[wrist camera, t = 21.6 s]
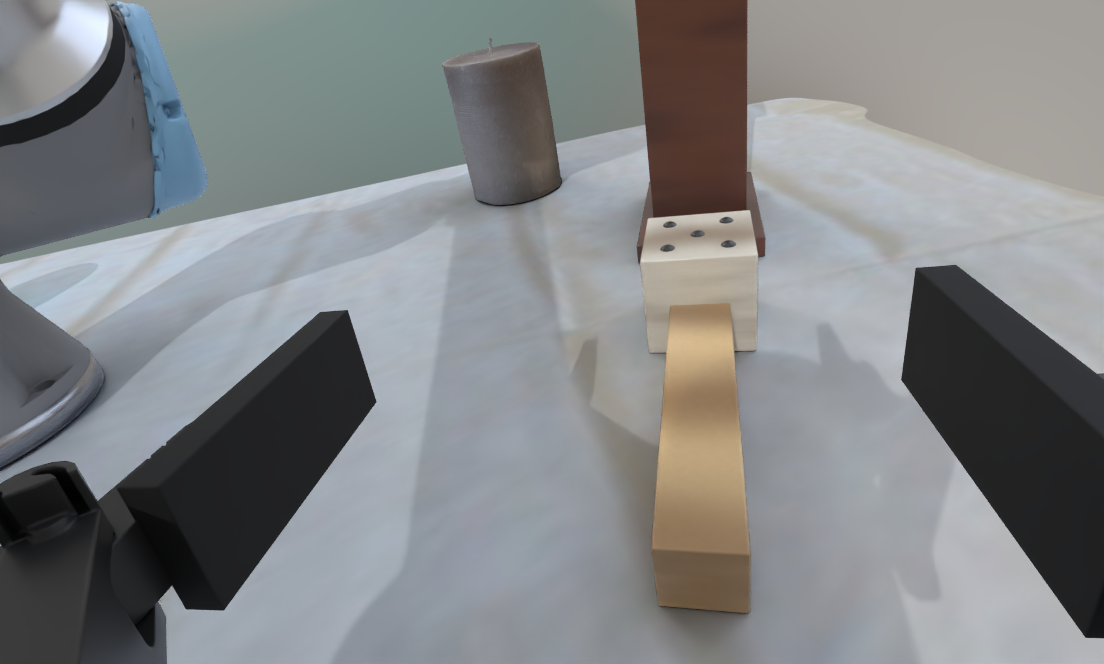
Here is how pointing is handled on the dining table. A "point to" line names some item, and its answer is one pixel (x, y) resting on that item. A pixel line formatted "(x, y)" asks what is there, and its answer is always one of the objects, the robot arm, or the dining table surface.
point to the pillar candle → (504, 122)
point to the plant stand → (696, 109)
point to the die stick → (701, 404)
